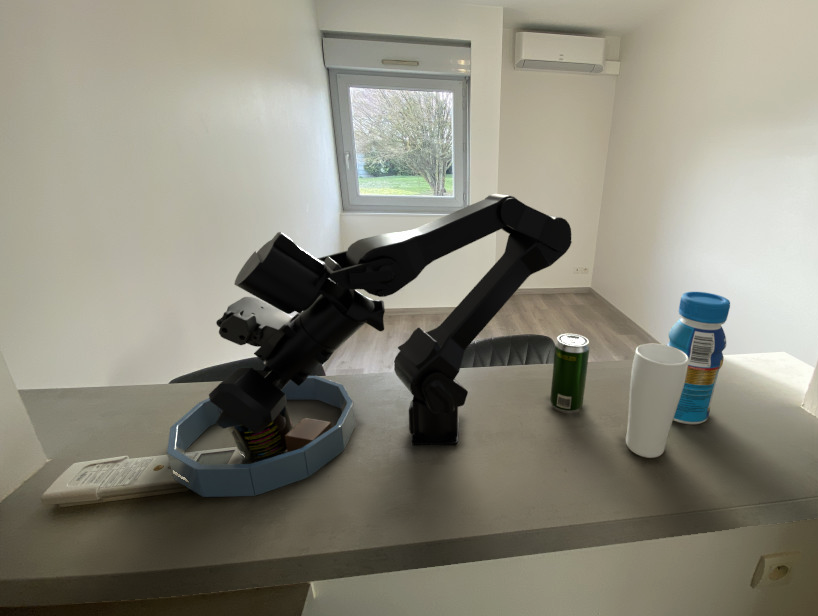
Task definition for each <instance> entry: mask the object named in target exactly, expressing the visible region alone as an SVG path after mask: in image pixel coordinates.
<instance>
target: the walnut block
mask: <svg viewBox="0 0 818 616" xmlns="http://www.w3.org/2000/svg"><path fill="white" fill-rule="evenodd" d="M331 428H332V422H331V421H326V420H320V419H313V418H307V417H304V418H302V420H300V421H299V422H298V423H297V424H295V426H293V429H292V430H291V431H289V432H288V433H287V434H286V435H285V440H286V446H287V450H286V453H287V452H291V451H294V450H297V449H300V448H303V447H304V446H306V445H307V444H309V443H310V442H312V441H313V440H315V439H316V438H318V437H319V436H321V435H322V434H324V433H325V432H327V431H328V430H330V429H331Z"/></svg>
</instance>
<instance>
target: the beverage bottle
mask: <svg viewBox="0 0 818 616" xmlns="http://www.w3.org/2000/svg"><path fill="white" fill-rule="evenodd" d="M730 309H731V301H730V299H728V298H726V297H724V296H722V295H719V294H716V293H711V292H706V291H686V292H684V293H682V295H681V297H680V300H679V306H678V316H679V319H678V320H677V321H675V322H674V324H673V325H672V327H671V328H670V330H669V331H668V339H669V341H668V342H667V343H666V345H668V346H671V347H674V348H677V349H679V350H681V351H683V352H684V353H685V354H686V355H687V356H688V358H689V362H688V368H687V374H686V379H685V384H684V387H683V391H682V394H681V397H680V400H679V403H678V406H677V409H676V412H675V416H674V419H673V421H674V422H676V423H679V424H685V425H700V424H702V423H704V422H706V421H707V420H708V419H709V415H710V412H711V404H712V400H713V396H714V392H715V388H716V384H717V380H718V376H719V372H720V369H721V368H722V367H723V364H724V360H725V359H724V353H723V351H724V350H726V347H727V337H726V333H725V330H724V328H723V326H722V325H724V324H726V322H727V320H728V317H729V312H730Z"/></svg>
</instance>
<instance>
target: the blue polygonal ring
mask: <svg viewBox="0 0 818 616" xmlns="http://www.w3.org/2000/svg"><path fill="white" fill-rule="evenodd" d="M281 391H282V392H284V393H285V395H286V401H288V400H317V401H319V402H322V403H325V404H328V405H329V406H332V407H335V408H338V409H340V410H341V415H340V417H339V418H338V420H337V423H336V424H335V425H334V426H333V427H331V429H330V430H328V431H327V432H325V433H324V434H322V435H321V436H319V437H318V438H316V439H315V440H313V441H312V442H310V443H309V444H307V445H306V446H304V447H303V448H300V449H297V450H294V451H291V452H287V451H286V452H284V453H283V454H281V455H278V456H275V457H271V458H268V459H265V460H262V461H258V462H252V463H220V464H219V463H218V464H217V463H216V464H213V463H211V464H209V463H208V464H207V463H206V464H201V463H200V462H198V461H196V460H195V459H193V458H191V457H189V456H187V455H185V451H187V450H188V448H189V447H190V446H191V445H193V443H194V442H195V441H197V440H198V439H199V437H200V436H201V435H202V434H204V433H205V431H207V430H208V428H210V427H212V426H214V425H217V424H216V421H217V419H218V418H219V416H220V412H219V410H218V408H217V406H216V405H215V404H213V403H212V402H211V401H210V398H209V397H208V398H206V399H204V400H201V401H200V402H198V403H197V404H195V405H194V406H193V407H192V408H190V410H188V412H186V413H185V414H184V415H182V417H180V418H179V419H178V420H177V421H176V422H175V423H174V424H172V425H171V426H170V428H169V434H168V440H167V442H168V443H167V448H166V456H167V458H168V461H169V465H170V469H171V471H172V470H174V471H175V472H177V473H178V474H180V475H181V476H183V477H185V478H186V479H187V480H188V481H189V483H188V482H186V481H185V480H183V479H181V478H180V477H178V476H176V475H175V474H173V473H172V476H173V479H174V481H176V482H177V483H179V484H181V485H183V486H184V487H186V488H188V489H190V490H191V491H193V492H194V493H196V494H198V495H199V496H200V497H202V498H219V497H220V498H222V497H224V498H225V497H226V498H227V497H255V496H256V497H257V496H259V495H262V494H265V493H268V492H270V491H273V490H276V489H279V488H282V487H284V486H288V485H291V484H293V483H296V482H299V481H303V480H305V479H308V478H309V477H311V476H313V475H314V474H315V473H316V472H317V471H319V470H320V469H321V468H323V467H325V465H327V464H328V463H329V462H331V461H332V460H333V459H335V458H336V457H337V456H339V455H340V454H341V453H343V452H344V451H345V449H346V447H347V445H348V442H349V441H350V438H351V436H352V434H353V431H354V428H355V427H356V419H355V417H356V416H355V408H354V407H355V406H354V401H353V399H352V398H351V396H350V394H349V393H348V391H347V389H346V387H345V386H344V384H343V383H340V382H336V381H333V380H330V379H328V378H325V377H321V376H318V375H309V376H308V377H307V378H306V380H305V381H304V382H303V383H302V384H301V385H299V386H298V385H297V384H295V383H294V382H293V381H292V380H290V381H289V382H288V383H287V384H286V386H285V387H284V388H283V389H282V390H281Z"/></svg>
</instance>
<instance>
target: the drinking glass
mask: <svg viewBox="0 0 818 616" xmlns="http://www.w3.org/2000/svg"><path fill="white" fill-rule="evenodd" d="M688 362H689V358H688V356H687V355H686V354H685V353H684V352H683V351H681V350H679V349H677V348H674V347H671V346H668V345H667V344H662V343H656V342H655V343H653V342H652V343H651V342H650V343H648V342H647V343H643V344H642V343H641V344H640V345H637V346H636V348H635V352H634V355H633V361H632V366H631V373H630V382H629V383H630V384H629V397H628V411H627V412H628V413H627V428H626V435H625V444H626V446H627V448H628V449H629V450H630V451H631V452H632V453H634V454H635V455H637V456H639V457H642V458H647V459H655V458H658V457H660V456H661V455H663V454H664V452H665V450H666V446H667V445H666V444H667V440H668V438H669V434H670V430H671V427H672V424H673V419H674V416H675V412H676V409H677V406H678V403H679V400H680V397H681V394H682V391H683V387H684V384H685V379H686V374H687V368H688Z"/></svg>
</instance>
